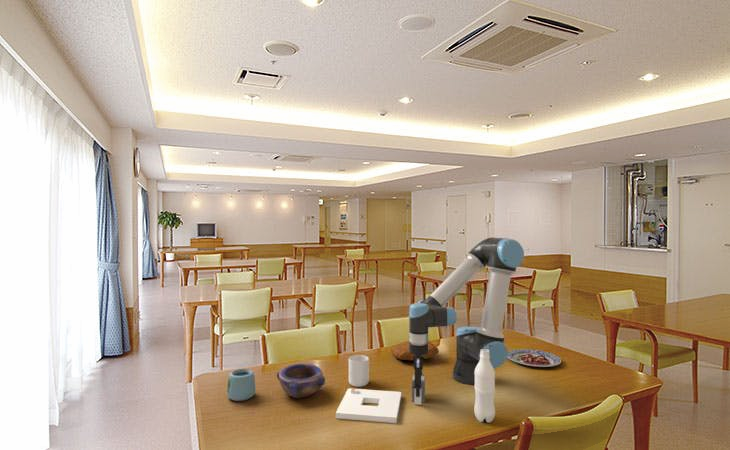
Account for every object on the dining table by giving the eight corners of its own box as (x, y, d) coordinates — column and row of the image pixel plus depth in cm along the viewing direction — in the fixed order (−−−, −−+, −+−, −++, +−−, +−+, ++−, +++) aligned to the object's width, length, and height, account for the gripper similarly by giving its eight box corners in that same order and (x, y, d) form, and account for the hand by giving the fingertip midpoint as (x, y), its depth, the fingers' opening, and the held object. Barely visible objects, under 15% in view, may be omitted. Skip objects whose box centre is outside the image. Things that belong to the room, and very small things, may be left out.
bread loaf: (427, 352, 224) (427, 337, 224) (440, 362, 207) (440, 346, 207) (388, 355, 219) (388, 340, 219) (399, 366, 202) (399, 350, 202)
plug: (425, 397, 167) (425, 375, 167) (424, 402, 162) (424, 380, 162) (412, 396, 168) (412, 374, 168) (411, 401, 163) (412, 379, 163)
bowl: (286, 407, 158) (286, 381, 158) (273, 390, 174) (273, 366, 174) (329, 398, 166) (329, 373, 166) (313, 382, 182) (313, 359, 182)
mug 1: (225, 390, 174) (225, 366, 173) (252, 386, 178) (252, 363, 178) (228, 404, 160) (228, 379, 160) (257, 400, 164) (257, 375, 164)
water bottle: (471, 415, 151) (471, 347, 151) (490, 414, 152) (490, 347, 152) (478, 424, 144) (478, 353, 144) (498, 424, 145) (498, 353, 144)
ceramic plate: (564, 358, 214) (564, 353, 214) (557, 374, 192) (557, 368, 192) (512, 350, 228) (512, 345, 228) (500, 364, 206) (500, 358, 206)
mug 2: (370, 387, 177) (370, 361, 177) (350, 388, 175) (350, 362, 175) (365, 376, 189) (365, 352, 189) (346, 377, 187) (346, 353, 187)
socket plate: (401, 396, 167) (401, 389, 167) (396, 423, 145) (396, 414, 145) (348, 393, 171) (348, 385, 171) (335, 418, 149) (335, 409, 149)
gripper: (410, 334, 176) (410, 387, 176) (407, 350, 154) (407, 410, 155) (428, 335, 175) (428, 388, 175) (427, 351, 153) (427, 412, 153)
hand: (418, 398), depth 165 cm, fingers open, 9 cm apart
